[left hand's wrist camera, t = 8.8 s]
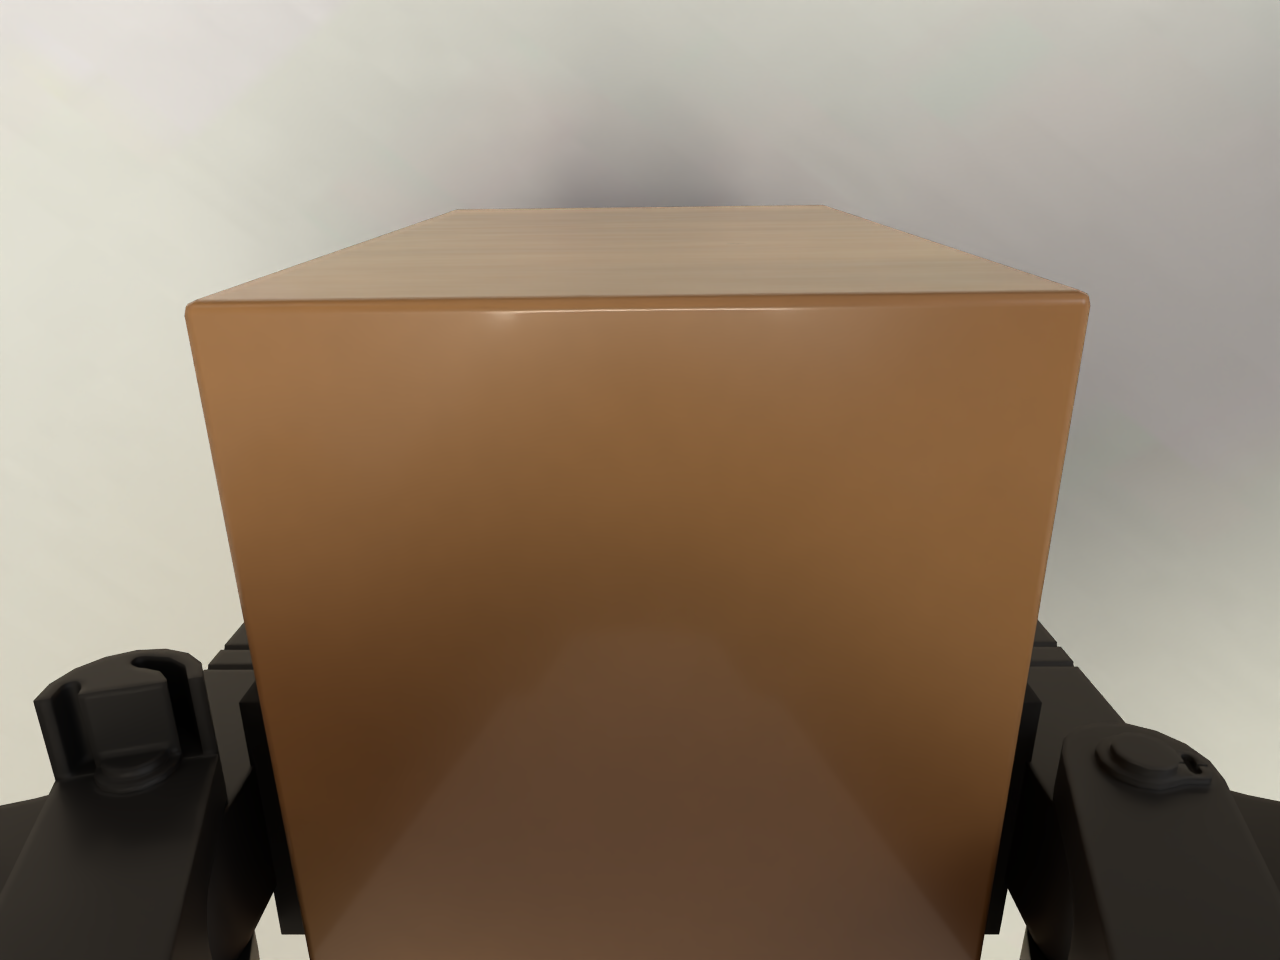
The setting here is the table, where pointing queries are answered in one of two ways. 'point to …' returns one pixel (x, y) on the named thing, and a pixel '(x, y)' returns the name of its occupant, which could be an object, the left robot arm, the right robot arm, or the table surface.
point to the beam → (641, 577)
